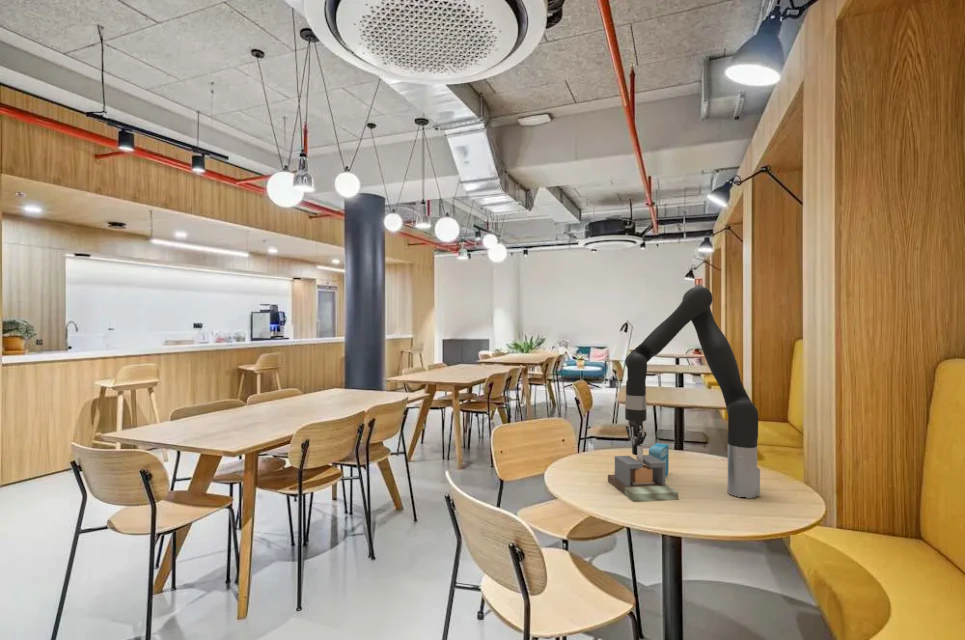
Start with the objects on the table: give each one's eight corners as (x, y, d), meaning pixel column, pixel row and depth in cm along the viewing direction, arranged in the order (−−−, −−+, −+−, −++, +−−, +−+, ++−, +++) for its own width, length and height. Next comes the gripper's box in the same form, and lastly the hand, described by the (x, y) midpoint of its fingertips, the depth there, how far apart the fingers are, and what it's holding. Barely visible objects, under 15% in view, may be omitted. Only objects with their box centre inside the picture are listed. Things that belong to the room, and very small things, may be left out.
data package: (660, 481, 189) (660, 450, 189) (648, 479, 191) (648, 448, 191) (668, 474, 199) (668, 443, 199) (656, 472, 201) (657, 442, 201)
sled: (646, 478, 184) (646, 443, 184) (654, 483, 178) (654, 447, 178) (626, 479, 182) (626, 444, 183) (633, 484, 177) (633, 448, 177)
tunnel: (650, 476, 187) (650, 454, 187) (665, 485, 176) (665, 462, 176) (614, 477, 185) (614, 456, 185) (627, 487, 174) (627, 464, 174)
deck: (647, 479, 191) (647, 473, 191) (678, 499, 169) (678, 492, 169) (607, 481, 189) (607, 474, 189) (633, 501, 167) (633, 494, 167)
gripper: (654, 410, 178) (653, 459, 178) (637, 404, 191) (637, 449, 191) (633, 410, 177) (633, 459, 177) (618, 404, 190) (618, 450, 190)
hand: (635, 454), depth 184 cm, fingers closed
